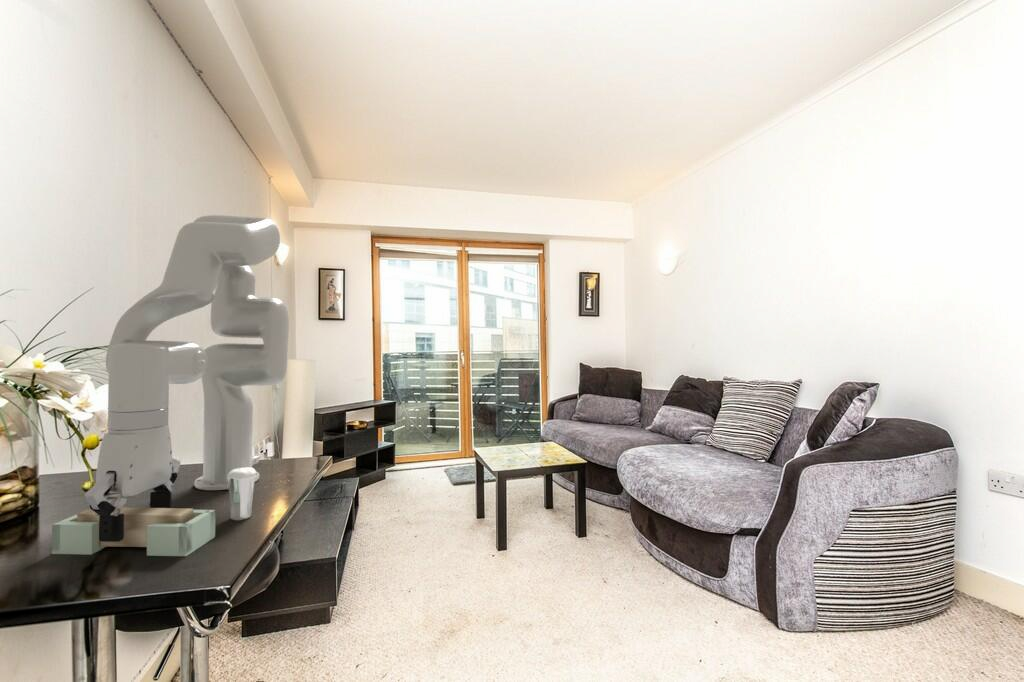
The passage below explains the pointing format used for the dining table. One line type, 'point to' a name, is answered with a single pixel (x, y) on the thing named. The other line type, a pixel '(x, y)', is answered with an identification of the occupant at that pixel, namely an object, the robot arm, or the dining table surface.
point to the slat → (140, 522)
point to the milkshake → (241, 491)
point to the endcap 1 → (75, 537)
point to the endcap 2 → (181, 535)
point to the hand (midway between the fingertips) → (137, 527)
